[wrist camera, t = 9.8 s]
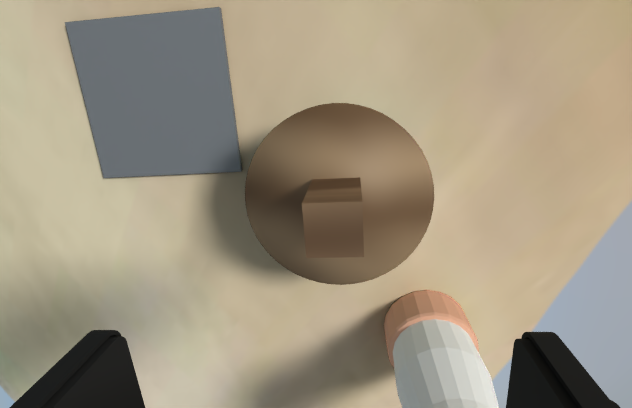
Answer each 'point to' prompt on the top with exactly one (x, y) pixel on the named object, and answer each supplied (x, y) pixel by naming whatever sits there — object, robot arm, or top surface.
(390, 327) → the salt shaker
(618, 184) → the top surface
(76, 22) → the mat
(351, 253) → the lid
